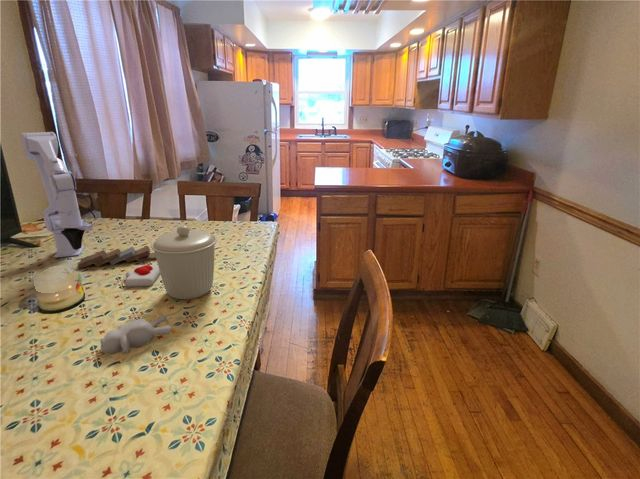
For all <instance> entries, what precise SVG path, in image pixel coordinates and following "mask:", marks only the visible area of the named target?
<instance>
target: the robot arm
mask: <svg viewBox="0 0 640 479" xmlns="http://www.w3.org/2000/svg"><path fill="white" fill-rule="evenodd" d="M20 141H21V145H22V148H23V151H24V154H25V156H26V158H27V159H28V160H30V161H33V162H34V164H35V166H36V167H37V169H38V170H37V171H38V172H39V175H40V179H41V183H42V185H43V188H44V192H45V196H46V199H47V202H48V204H49V205H48V206H47V207H46V208H45V209H44V210H43V211H42V212H43V213H42V216H43V220H44V225H45V227H46V231H48V232H49V233H52V236H53V240H54V245H55V248H56V253H55V254H54V256H53V258H64V257H73V256H79V255H81V253H82V251H83V249H84V247H85V245H83V244H82V243H83V236H84V234H85V232H91V231H93V230H94V229H93V225H92V223H87V222H85V220H84V219H82V217H81V216H82V215H81V212H80V208H79V203H78V202H79V201H78V198H77V193H76V191H77V189H78V188H77V182H76V179H75V176H74V173H73V172H71V171H70V170H68V169H67V167H66V165H65V163H64V161H63V160H62V159H60V158H58V154H59V141H58V137H57V135H56V133H55V132H53V131H47V132H46V131H45V132H43V131H42V132H21V133H20Z"/></svg>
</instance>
